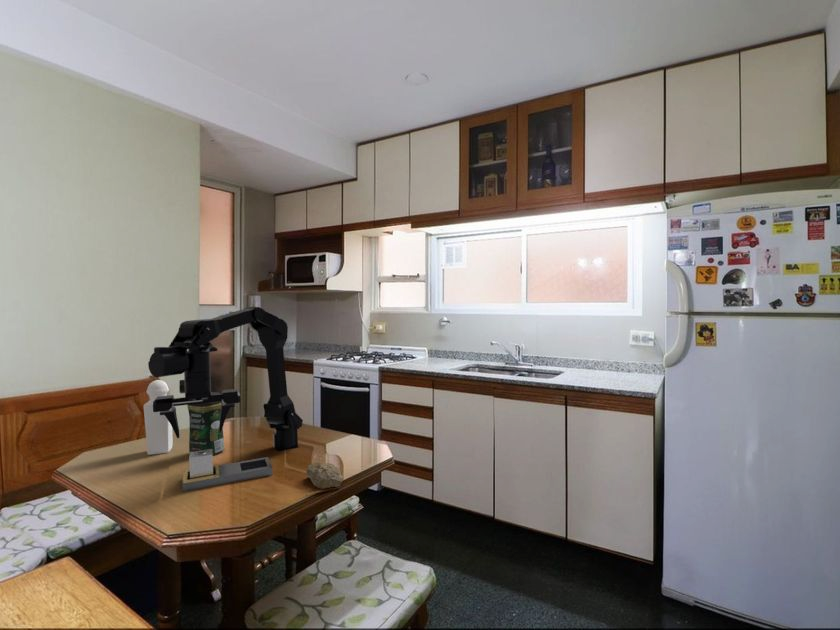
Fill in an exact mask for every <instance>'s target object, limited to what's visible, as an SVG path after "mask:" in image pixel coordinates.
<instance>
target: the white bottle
mask: <svg viewBox="0 0 840 630" xmlns="http://www.w3.org/2000/svg"><path fill="white" fill-rule="evenodd" d="M169 391H170V388H169V387H168V384H167V383H166V382H165V381H164V380H162V379H161V380H160V379H156V380H153V381H151V382H150V383H149V385H148V386H147V388H146V391H145V392H146V394H147V395H148V397H149V400H148V401H147V402H146V403H144V404H143V414H144V415H143V416H144V427H145V440H146V450H147V455H148V456H150V455H151V456H153V455H159V454H160V455H162V454H167V453H169V452H170V451H171V450H172V448H173V428H172V426H171V424H170V422H169V421H168V419H167V418H166V416H165V415H160V412H153V401H154V400H155V399H156V398H157V397H159V396H168V393H169Z"/></svg>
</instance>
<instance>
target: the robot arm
mask: <svg viewBox="0 0 840 630" xmlns="http://www.w3.org/2000/svg"><path fill="white" fill-rule="evenodd" d="M247 324H249V326H250V328H251V329H253V330H254V331H256V332H257V335H258V340H259V342H260V343H261V345H262V346H263V348H264V349H265V356H266V364H267V366H266V367H267V377H268V385H269V387H268V388H269V398H268V401H267V402H266V403H264V404H263V411H264V412H263V413H264V416H263V417H264V418H265V419H266V420H265V421H266V422H267V423H268V426H269V428H270V429H274V433H273V434H272V438H273V439H272V443H273V445H272V446H273V448H274V449H275V450H276V451H277V452H280V451H287V450H293V449H298V448H300V445H299V440H298V439H299V437H298V430H300V428H302V426H303V421H304V420H303V419H302V418H301V417H300V415H298V413H297V412H296V409H295V405H294V401H292V399H291V397H290V396H289V394H288V386H287V375H286V367H285V366H286V364H285V363H286V362H285V355H284V354H285V353H284V347H285V344H286V342H287V340H288V330H289V329H288V328H289V327H288V324H287V322H286V321H285V320H284V319H282V318H279V317H278V316H277V315H274V314H272V313H270V312H269V311H265V309H263V308H262V307H260V306H247V307H245V308H243V309H239V310H236V311H232V312H229V313H226V314H223V315H222V314H221V315H220V316H216V317H213V318H212V317H211V318H204V319H193V320H191V319H190V320H185V321H183V322H181V323H180V324H179V325H180V326H179V328H178V331H177V333H176V335H175V336H174V337H173V339H172V340H171V342H170V344H169V345H168V346H166V347H165V346H155V347H154V348H153V353H152V354H151V355H150V358H149V361H148V364H147V365H148V370H149V372H150V375H152V377H153V378H157V379H158V378H164V377H165V378H166V377H170V376H171V377H172V376H177V375H182V374H184V376H183V377H184V379H180V380H179V394H184V397H176V398H175V397H174V395H173V394H171V395H167V396H159V397H157V398H156V399H155V400H154V401H153V412H160V415H165V416H166V418H167V419H168V421H169V422H170V424H171V426H172V431H174V434H175V436H176V438H177V439H179V438H180V427H179V422H178V416H177V407H179V406H187V405H190V404H199V403H208V402H218V401H222V402H221V413H220V422H219V432H221V431H222V428H223V429H224V424H225V421H226V418H227V415H228V414H229V411H230V409H231V408H234V407H236V404H240V403H241V393H240V391H239V389H238V388H234V389H231V388H230V389H224V390H223V389H222V391H221V393H220V394H213V395H211V392H212V383H211V382H212V381H211V377H212V376H211V357H210V356H211V355H210V354H211V353H213V352H218V348H217V347H216V346H214V345H213V344H212V341H213V340H215V339H217V338H218V337H220V335H221V334H223V333H224V332H227V331H229V330H233V329H236V328H239V327H241V326H244V325H247ZM189 399H194V400H193V401H192V400H191V401H189ZM203 399H206V400H203Z"/></svg>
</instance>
